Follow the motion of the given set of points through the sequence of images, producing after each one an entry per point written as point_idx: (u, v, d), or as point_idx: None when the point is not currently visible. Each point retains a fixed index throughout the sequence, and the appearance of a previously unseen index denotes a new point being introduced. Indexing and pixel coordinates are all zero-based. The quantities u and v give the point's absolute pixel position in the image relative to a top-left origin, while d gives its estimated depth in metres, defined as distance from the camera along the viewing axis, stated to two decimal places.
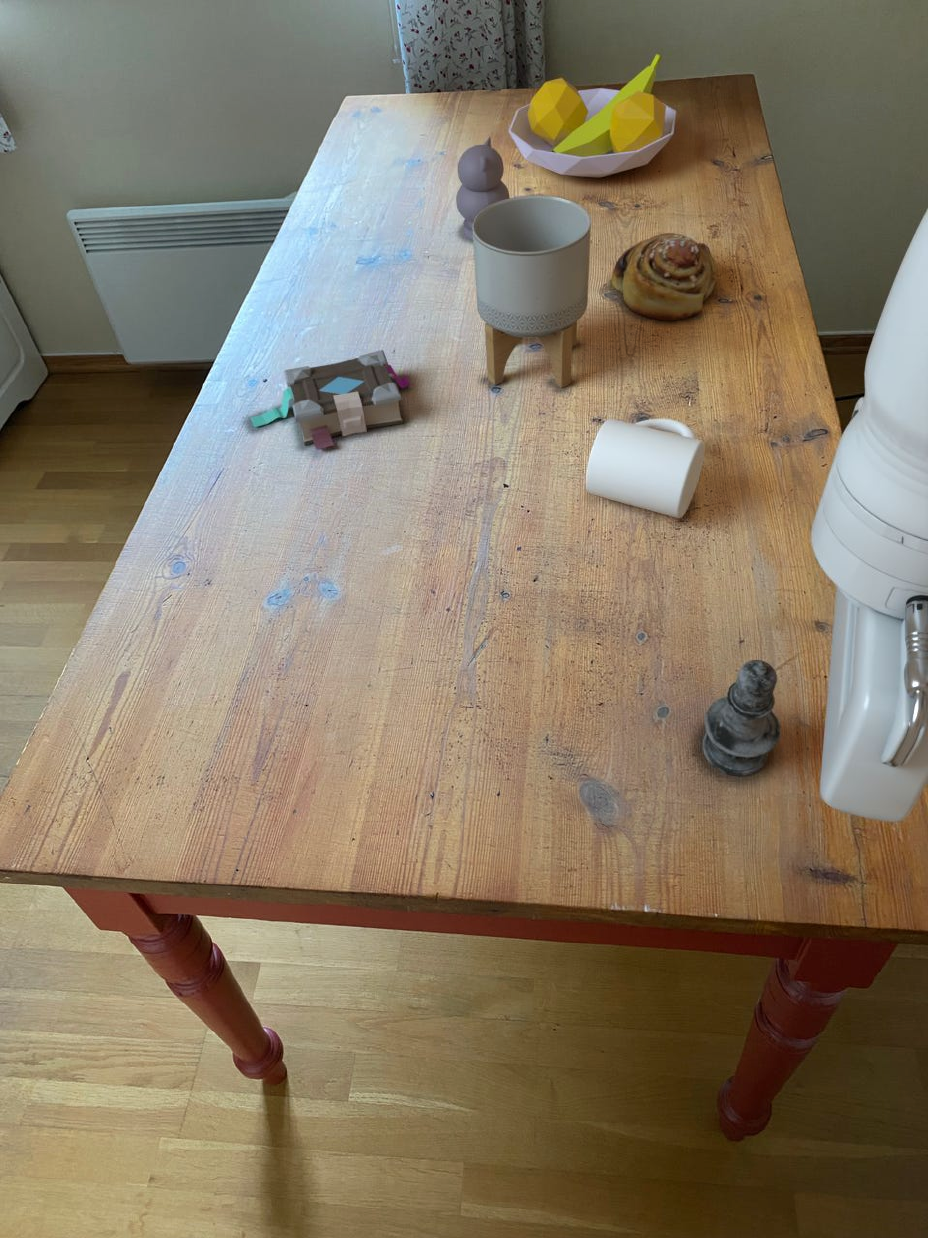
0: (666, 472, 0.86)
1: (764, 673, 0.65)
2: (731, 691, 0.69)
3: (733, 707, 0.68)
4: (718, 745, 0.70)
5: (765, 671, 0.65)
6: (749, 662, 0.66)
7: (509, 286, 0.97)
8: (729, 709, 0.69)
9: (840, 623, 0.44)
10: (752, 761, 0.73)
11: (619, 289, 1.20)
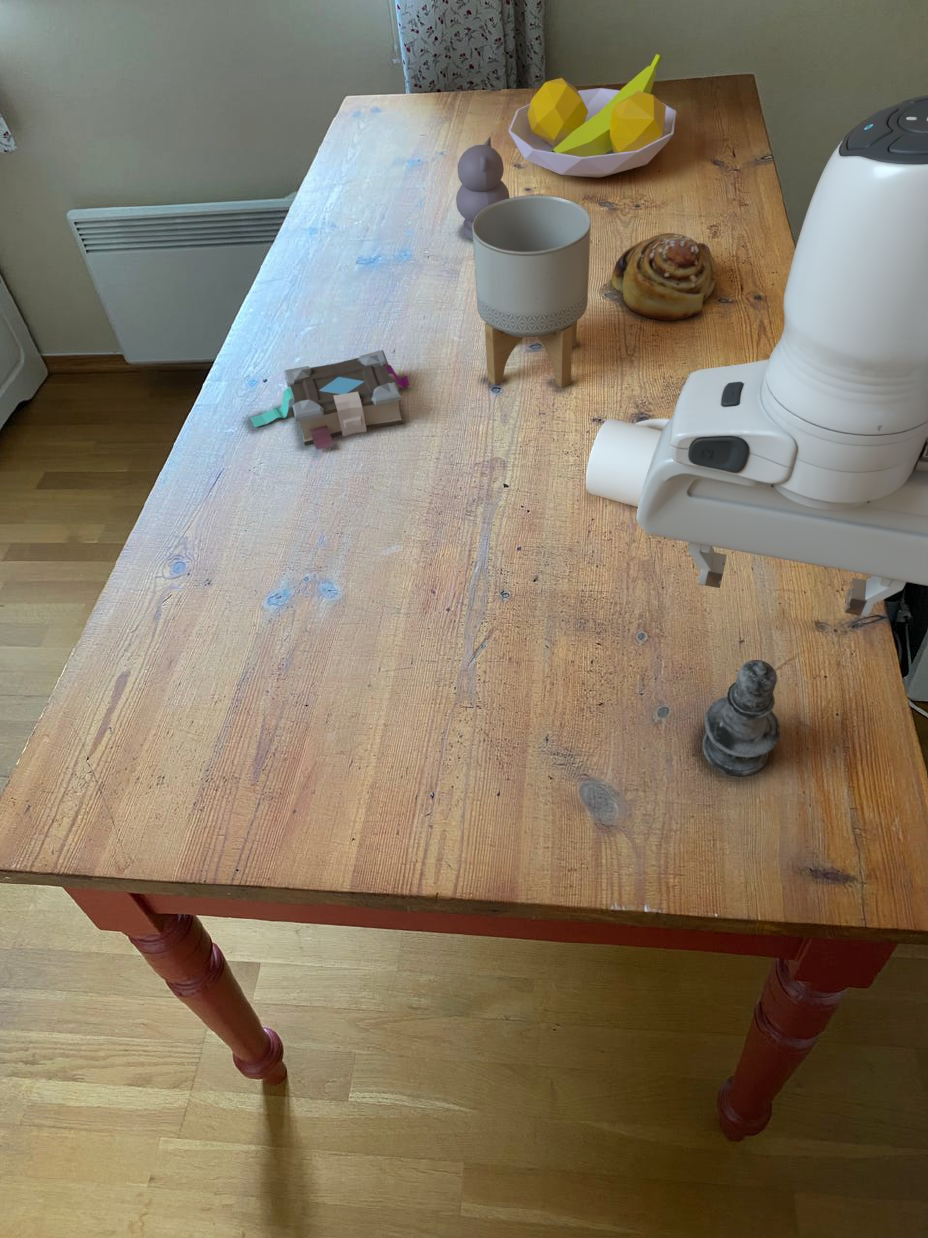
0: None
1: (764, 673, 0.65)
2: (731, 691, 0.69)
3: (733, 707, 0.68)
4: (718, 745, 0.70)
5: (765, 671, 0.65)
6: (749, 662, 0.66)
7: (509, 286, 0.97)
8: (729, 709, 0.69)
9: (812, 539, 0.53)
10: (752, 761, 0.73)
11: (619, 289, 1.20)
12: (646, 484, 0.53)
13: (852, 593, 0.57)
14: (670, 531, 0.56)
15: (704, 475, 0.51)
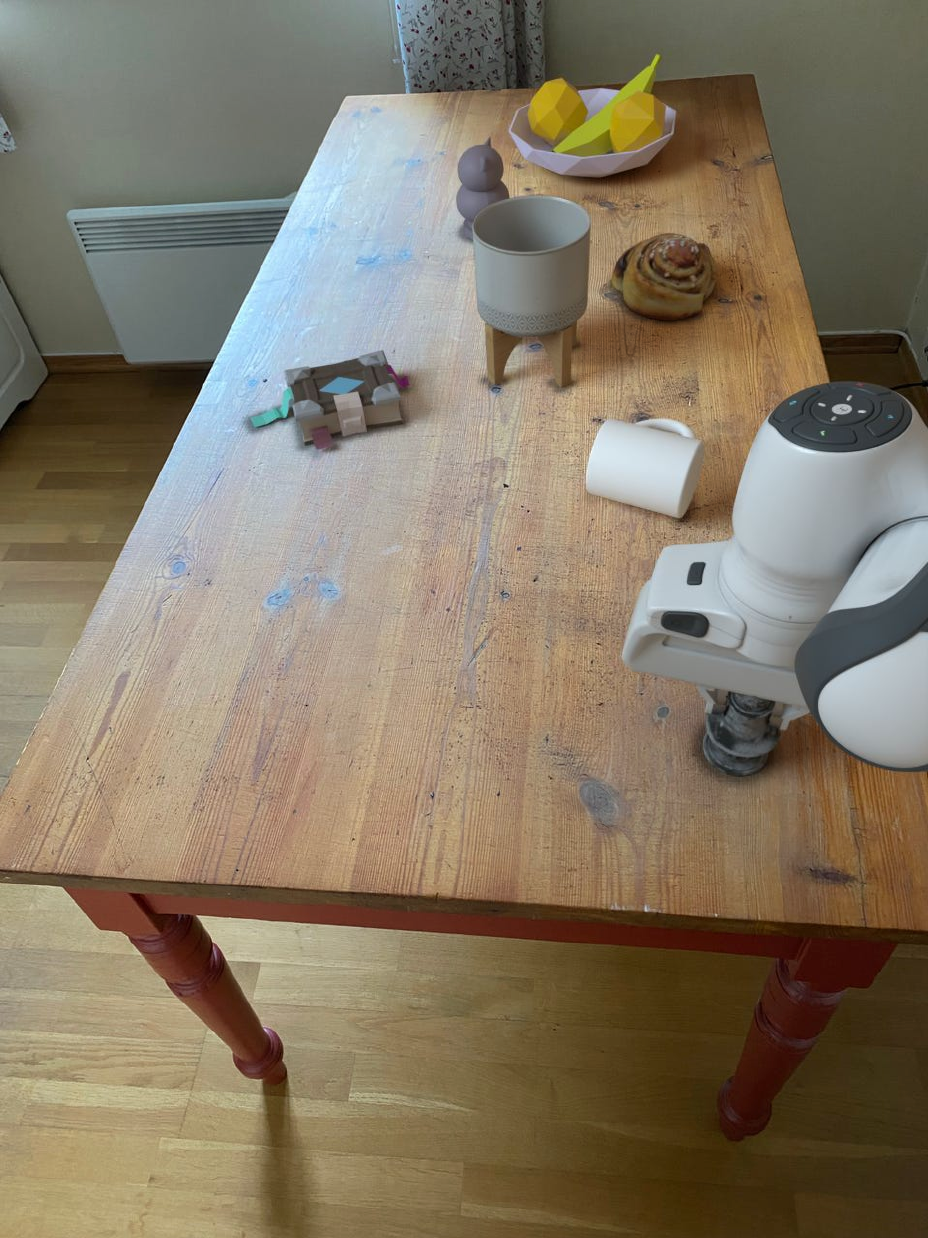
0: (666, 472, 0.86)
1: None
2: None
3: (734, 707, 0.68)
4: (718, 745, 0.70)
5: None
6: None
7: (509, 286, 0.97)
8: (730, 709, 0.69)
9: (765, 682, 0.64)
10: (752, 761, 0.73)
11: (619, 289, 1.20)
12: (628, 636, 0.65)
13: (771, 712, 0.69)
14: (650, 669, 0.67)
15: (674, 635, 0.62)
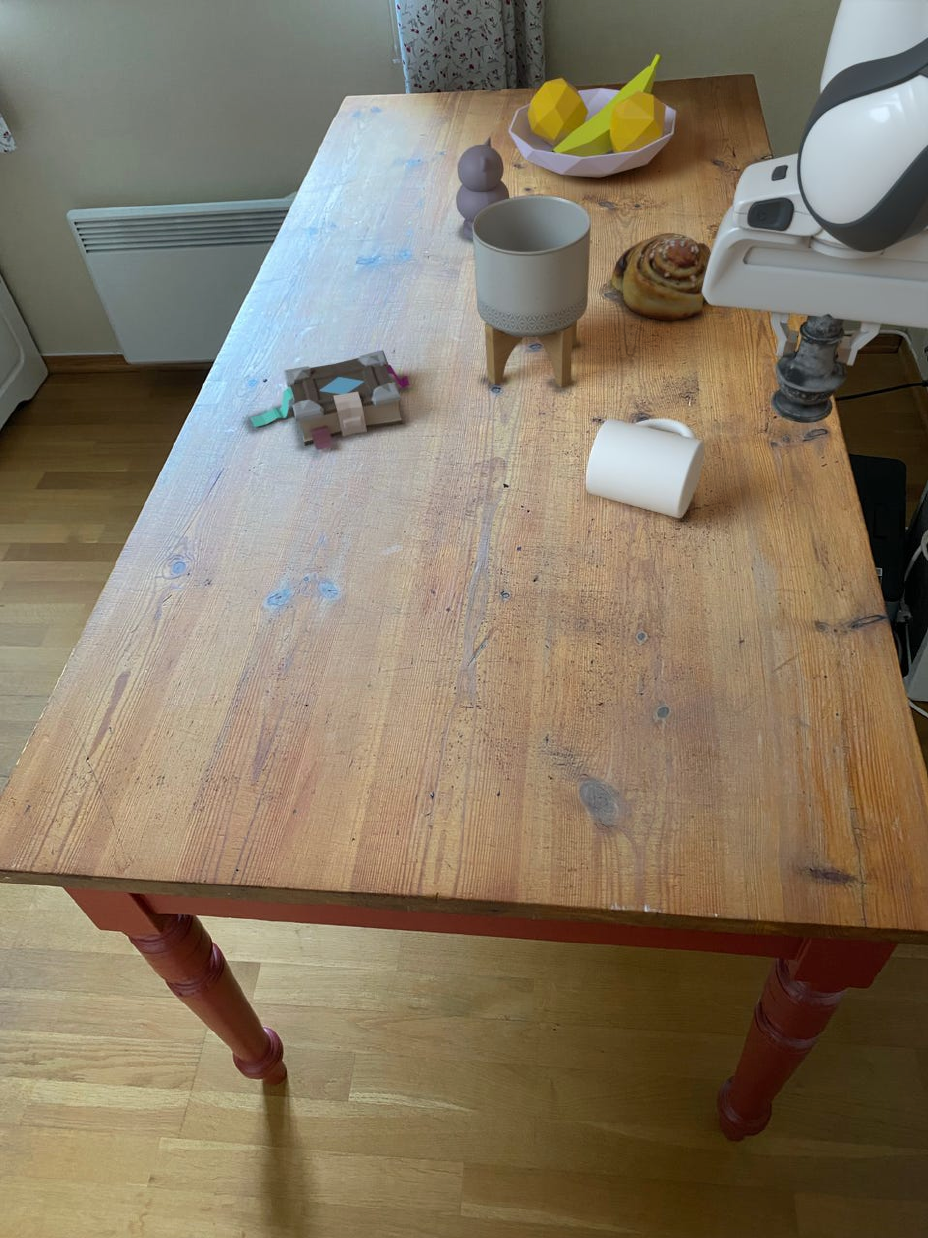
0: (666, 472, 0.86)
1: None
2: (803, 325, 0.74)
3: (806, 336, 0.73)
4: (789, 383, 0.75)
5: None
6: None
7: (509, 286, 0.97)
8: (801, 345, 0.74)
9: (839, 293, 0.69)
10: (818, 409, 0.78)
11: (619, 289, 1.20)
12: (712, 254, 0.70)
13: (840, 345, 0.74)
14: (729, 298, 0.72)
15: (758, 238, 0.67)
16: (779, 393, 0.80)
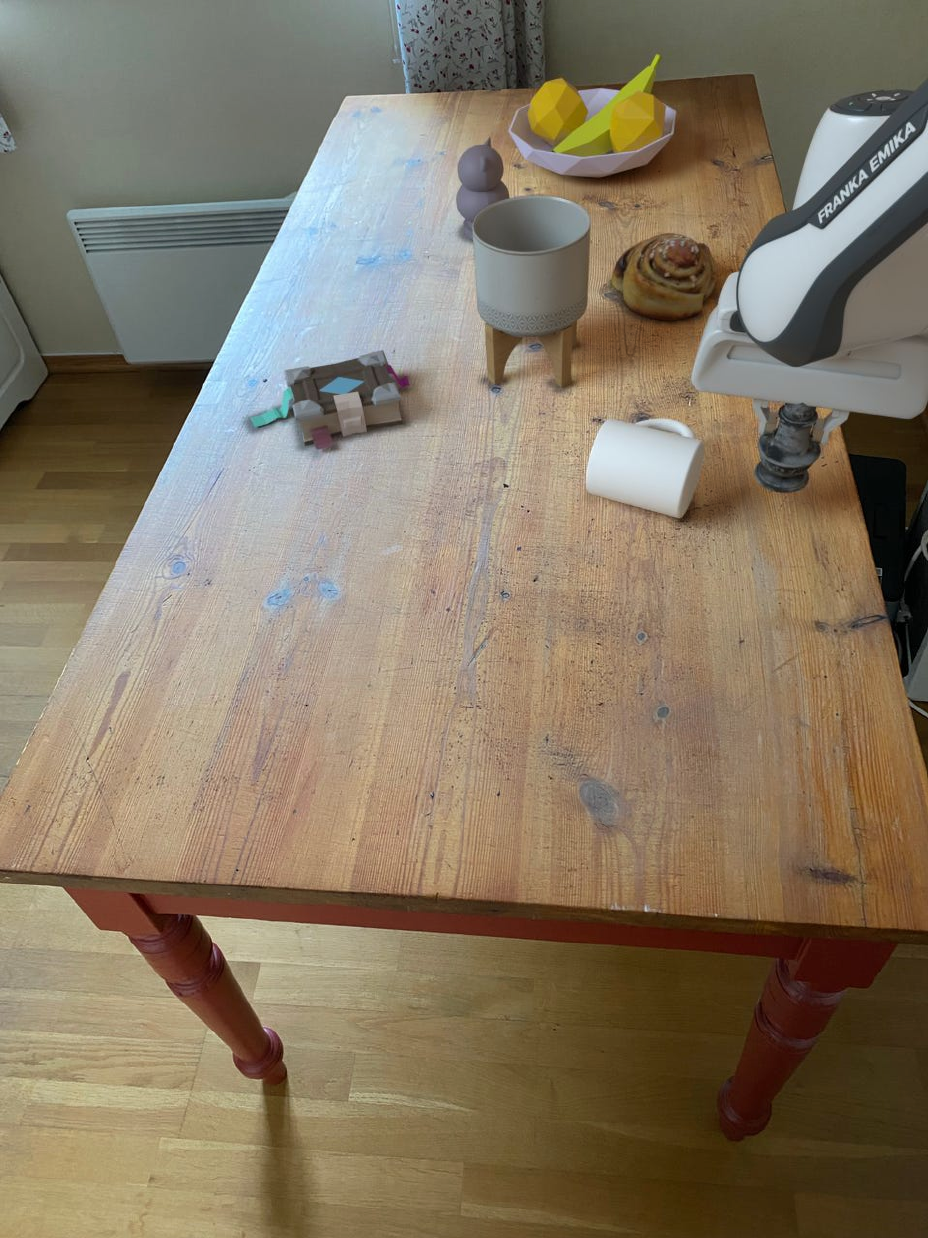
0: (666, 472, 0.86)
1: None
2: (781, 409, 0.83)
3: (784, 420, 0.82)
4: (769, 459, 0.84)
5: None
6: None
7: (509, 286, 0.97)
8: (779, 426, 0.83)
9: (812, 386, 0.78)
10: (796, 481, 0.87)
11: (619, 289, 1.20)
12: (699, 350, 0.79)
13: (814, 426, 0.83)
14: (714, 387, 0.81)
15: (739, 339, 0.76)
16: (761, 465, 0.89)
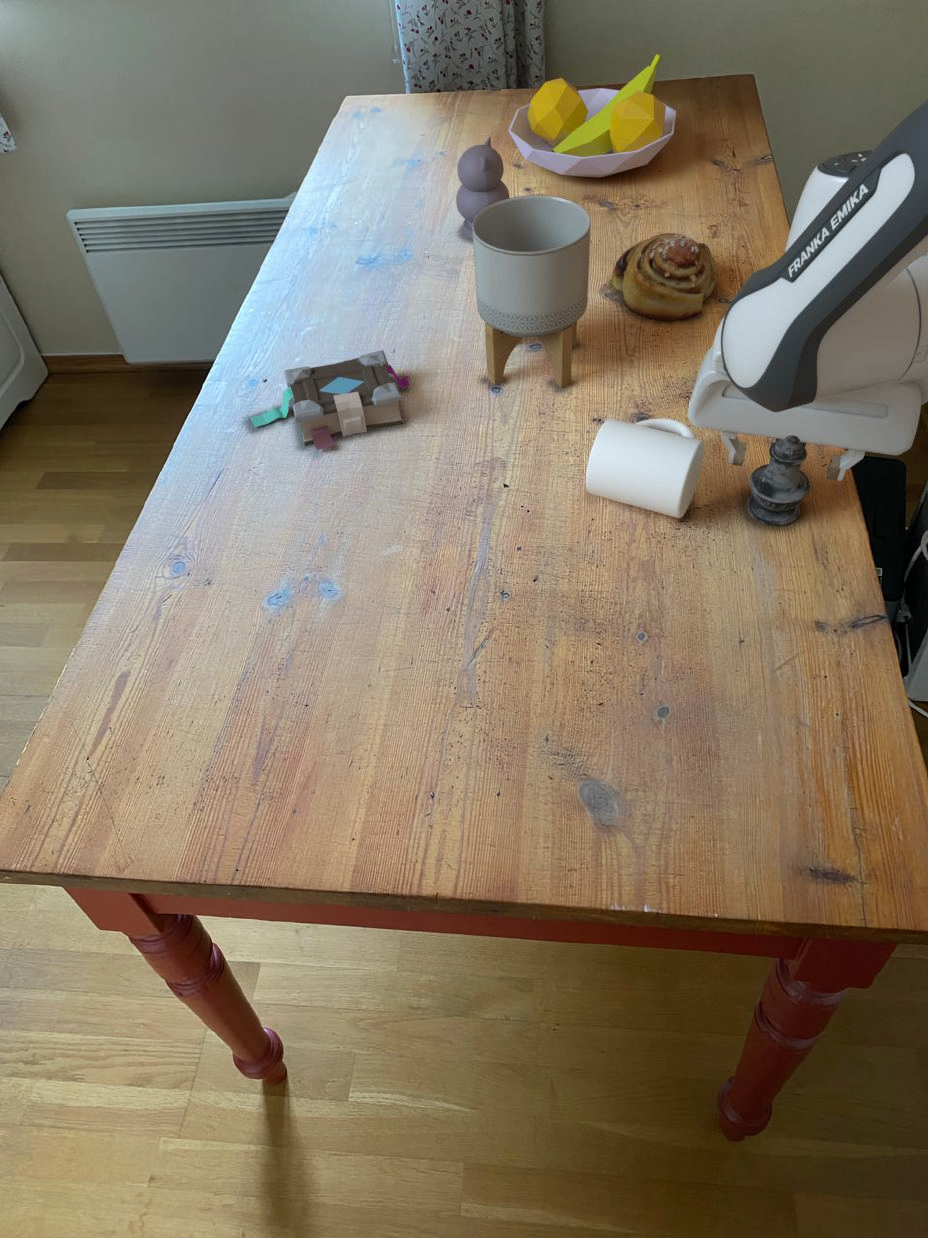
0: (666, 472, 0.86)
1: None
2: (772, 447, 0.86)
3: (774, 458, 0.85)
4: (761, 495, 0.88)
5: None
6: None
7: (509, 286, 0.97)
8: (770, 464, 0.87)
9: (803, 423, 0.82)
10: (787, 514, 0.90)
11: (619, 289, 1.20)
12: (695, 389, 0.82)
13: (831, 464, 0.86)
14: (710, 423, 0.85)
15: None
16: (754, 498, 0.92)
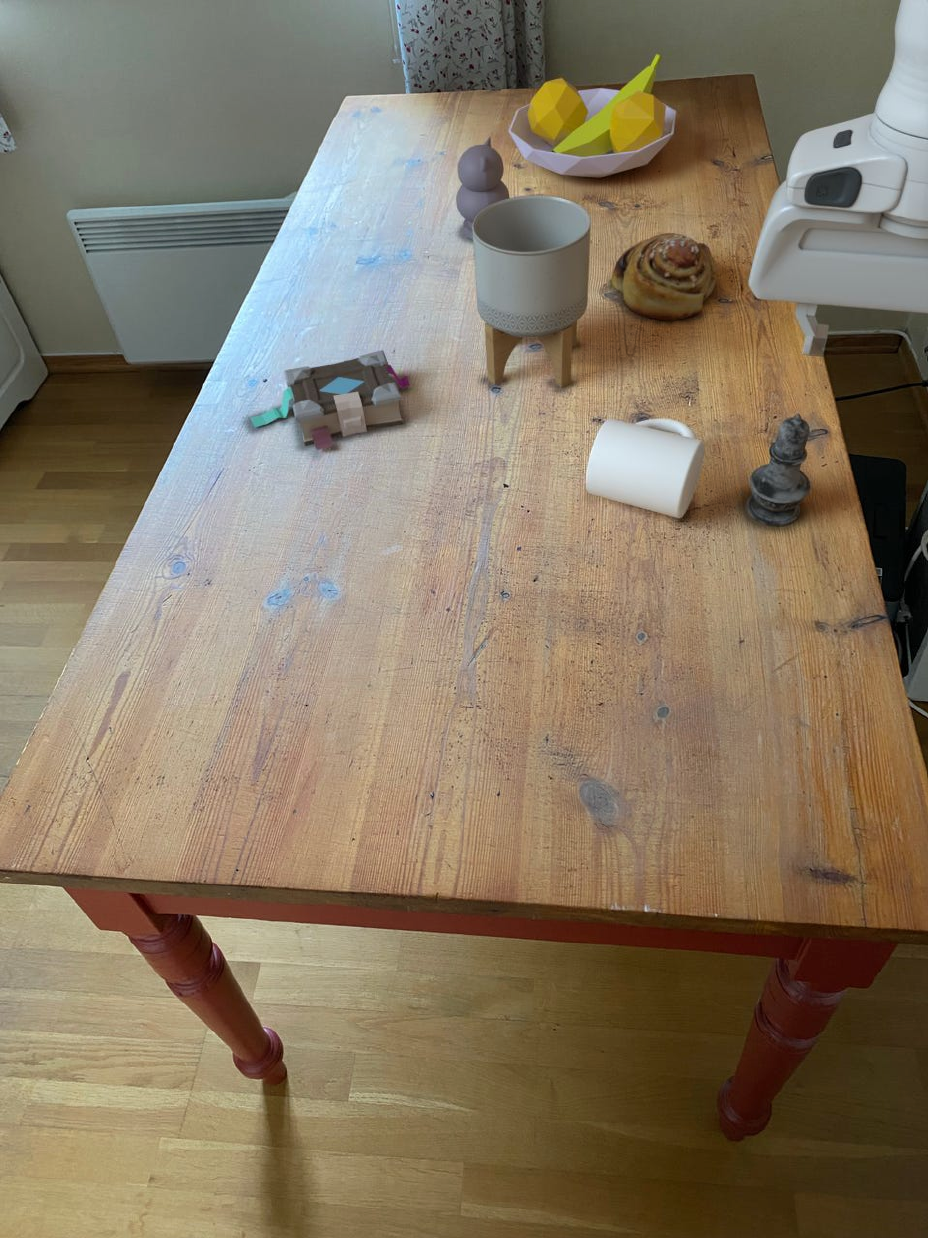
0: (666, 472, 0.86)
1: (799, 424, 0.83)
2: (772, 448, 0.86)
3: (774, 458, 0.85)
4: (761, 495, 0.88)
5: (800, 422, 0.83)
6: (787, 418, 0.84)
7: (509, 286, 0.97)
8: (770, 464, 0.87)
9: (914, 282, 0.58)
10: (787, 514, 0.90)
11: (619, 289, 1.20)
12: (761, 239, 0.59)
13: None
14: (780, 291, 0.62)
15: (817, 218, 0.57)
16: (754, 498, 0.92)
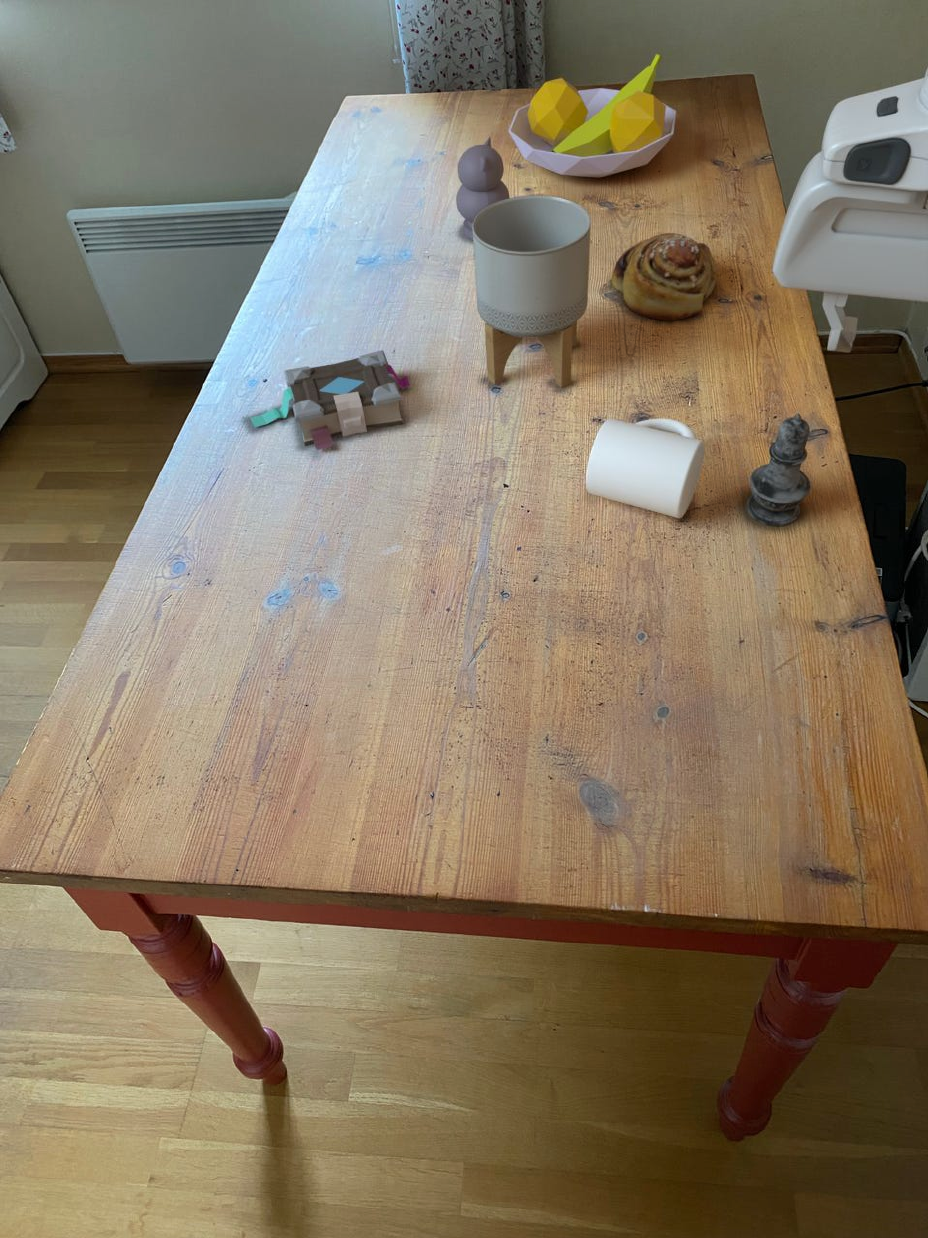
0: (666, 472, 0.86)
1: (799, 424, 0.83)
2: (772, 447, 0.86)
3: (774, 458, 0.85)
4: (761, 495, 0.88)
5: (801, 422, 0.83)
6: (787, 418, 0.84)
7: (509, 286, 0.97)
8: (770, 464, 0.87)
9: None
10: (787, 514, 0.90)
11: (619, 289, 1.20)
12: (790, 220, 0.53)
13: None
14: (808, 279, 0.55)
15: (856, 196, 0.50)
16: (754, 498, 0.92)
